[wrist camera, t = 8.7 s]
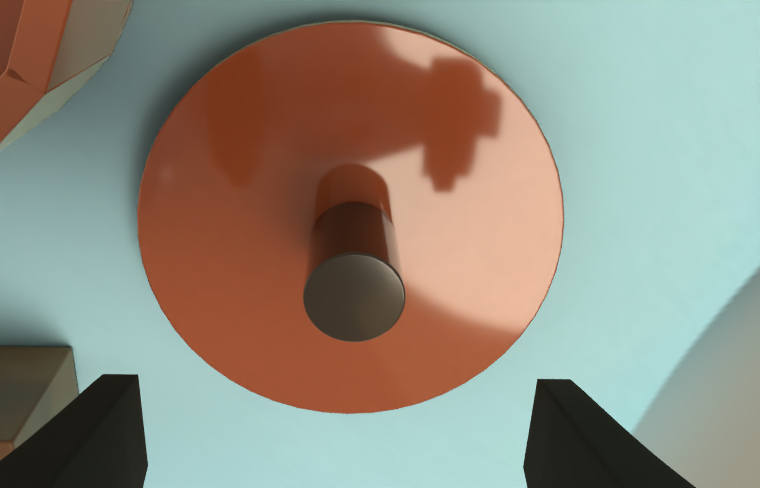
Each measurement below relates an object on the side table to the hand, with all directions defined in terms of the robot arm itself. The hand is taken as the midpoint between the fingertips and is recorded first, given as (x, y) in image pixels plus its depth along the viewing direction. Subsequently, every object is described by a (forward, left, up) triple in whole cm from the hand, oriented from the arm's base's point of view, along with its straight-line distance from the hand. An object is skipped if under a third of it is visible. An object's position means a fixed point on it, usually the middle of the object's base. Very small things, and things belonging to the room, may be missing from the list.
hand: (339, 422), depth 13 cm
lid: (0, 0, -8) cm, 8 cm away
